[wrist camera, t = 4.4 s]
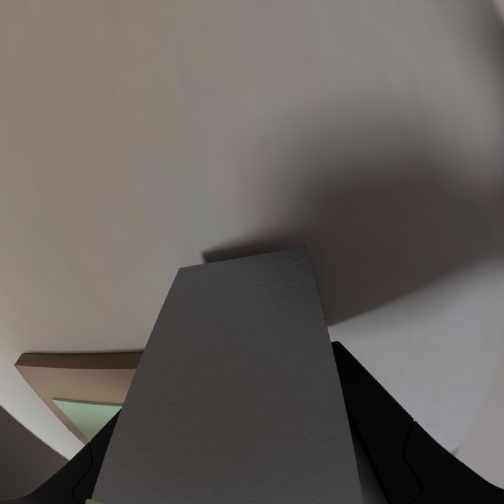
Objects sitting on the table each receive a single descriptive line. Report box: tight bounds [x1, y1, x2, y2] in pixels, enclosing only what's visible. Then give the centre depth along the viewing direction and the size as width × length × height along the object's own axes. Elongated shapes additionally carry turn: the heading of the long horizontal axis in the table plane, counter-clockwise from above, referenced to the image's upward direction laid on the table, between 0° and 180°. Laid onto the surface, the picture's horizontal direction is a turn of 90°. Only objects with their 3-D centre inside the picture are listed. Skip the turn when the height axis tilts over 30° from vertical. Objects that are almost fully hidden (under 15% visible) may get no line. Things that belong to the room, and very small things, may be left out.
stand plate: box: [14, 352, 143, 445], centre depth 15 cm, size 14×12×1 cm
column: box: [85, 246, 363, 504], centre depth 6 cm, size 4×4×9 cm
